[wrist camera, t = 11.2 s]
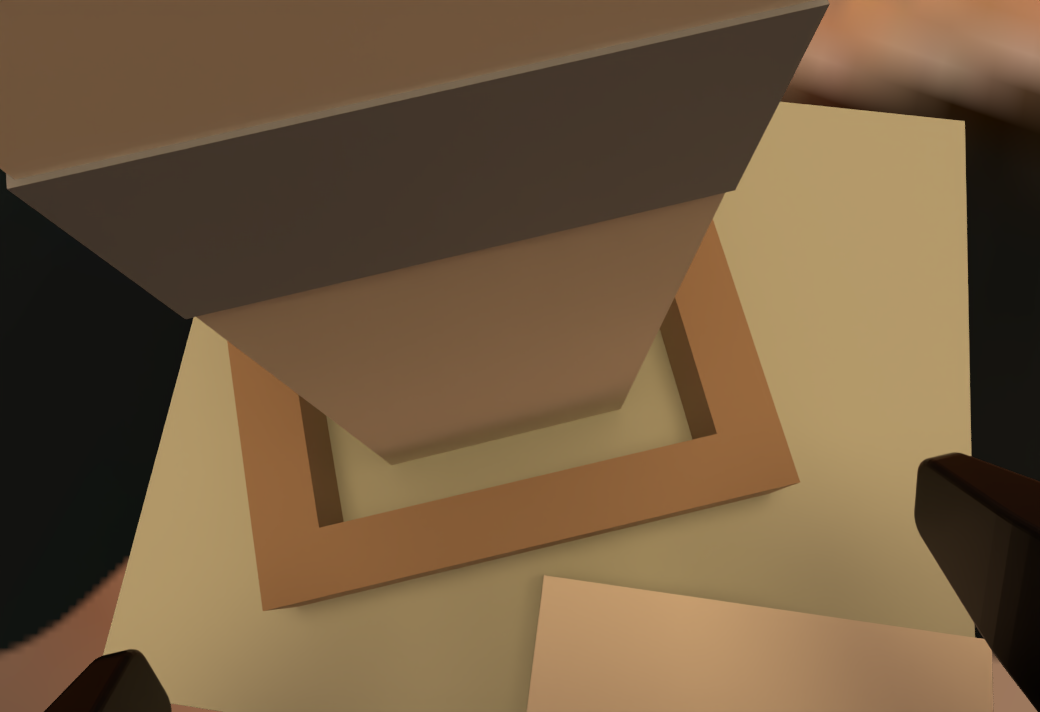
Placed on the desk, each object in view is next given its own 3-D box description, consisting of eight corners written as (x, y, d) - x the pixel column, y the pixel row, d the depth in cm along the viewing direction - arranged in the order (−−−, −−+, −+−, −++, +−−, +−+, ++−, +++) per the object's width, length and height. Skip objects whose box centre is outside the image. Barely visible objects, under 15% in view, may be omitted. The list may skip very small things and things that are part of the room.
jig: (945, 813, 15) (1047, 872, 12) (124, 682, 16) (29, 707, 13) (939, 148, 19) (1014, 67, 16) (281, 77, 20) (235, -11, 17)
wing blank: (950, 815, 14) (996, 842, 13) (521, 747, 15) (520, 766, 13) (948, 634, 15) (992, 640, 14) (543, 575, 16) (543, 574, 14)
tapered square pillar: (623, 410, 17) (1200, -729, 2) (390, 468, 16) (-754, -367, 2) (563, 201, 18) (663, -1351, 3) (347, 251, 18) (-498, -1182, 3)
